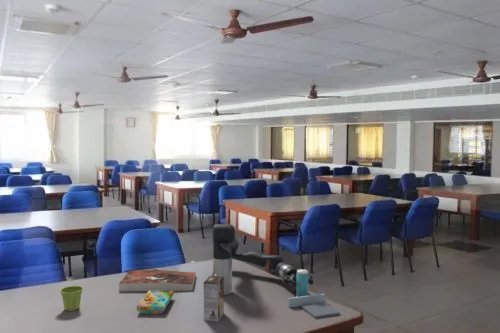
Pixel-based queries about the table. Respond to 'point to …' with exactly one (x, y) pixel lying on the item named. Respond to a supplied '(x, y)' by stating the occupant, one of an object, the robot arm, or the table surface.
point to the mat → (320, 310)
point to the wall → (306, 300)
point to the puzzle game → (154, 302)
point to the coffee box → (213, 298)
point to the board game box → (157, 280)
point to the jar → (302, 283)
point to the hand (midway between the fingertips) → (304, 283)
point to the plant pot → (71, 297)
